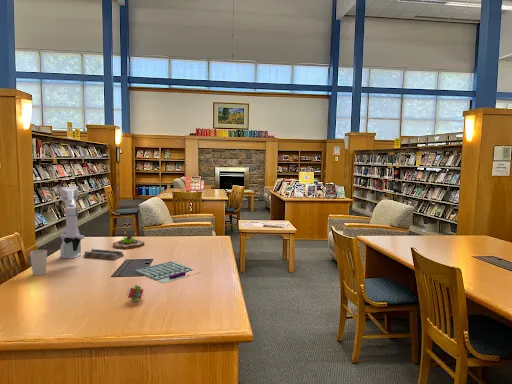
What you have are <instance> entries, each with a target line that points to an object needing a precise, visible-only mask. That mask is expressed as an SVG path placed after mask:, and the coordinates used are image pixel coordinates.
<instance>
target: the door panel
mask: <svg viewBox="0 0 512 384" xmlns="http://www.w3.org/2000/svg"><path fill="white" fill-rule="evenodd" d="M81 241H82V240H81ZM81 241H80V242H79V245H78V248H77V251H74V250H73V244H72V242H70V243H67V244H64V257H70V256H72V255H75V254H81V253H82V248H81V247H82V245H81Z"/></svg>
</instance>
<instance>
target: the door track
mask: <svg viewBox="0 0 512 384" xmlns="http://www.w3.org/2000/svg"><path fill="white" fill-rule="evenodd" d="M124 256H125V254H124V252H123V251H122V250H111V249H98V248H97V249H96V248H91V249H90V251H89V250H87V251H84V255H83V257H82V258H89V259H99V260H108V261H109V260H111V261H115V260H117V259H120V258H123V257H124Z"/></svg>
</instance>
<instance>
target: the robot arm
mask: <svg viewBox="0 0 512 384" xmlns="http://www.w3.org/2000/svg"><path fill="white" fill-rule="evenodd" d="M78 188H79V187H78V186H66V187H65V186H64V187H63V186H61V187H60V188H59V189H60V190H59V191H60V193H59V194H60V195H59V196H60V200H61V201H62V202H64V204H65V208H64V216H65V224H66V227H65V228H64V229H63V230H62V231H61V234H60V236H59V237H60V239H61V241H62V243H61V244H60V250H59V251H60V255H59V258H63V259H75V258H78V257H80V256H81V254H80V253H78V254H75V255H72V256H70V257H64V244H67V243H70V242H72V244H73V250H74V251H77V248H78V245H79V242H80V241H82V240H84V239H85V235H84V234H80V230H79V228H78V216H79V208H78V206H77V200H78V197H79V189H78Z"/></svg>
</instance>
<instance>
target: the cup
mask: <svg viewBox="0 0 512 384" xmlns="http://www.w3.org/2000/svg"><path fill="white" fill-rule="evenodd" d="M29 256H30V263H31V265H30V266H31V271H32V276H43V275H46V274H47V258H48V257H47V256H48V250H47V249H36V250H32V251H30V252H29Z"/></svg>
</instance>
